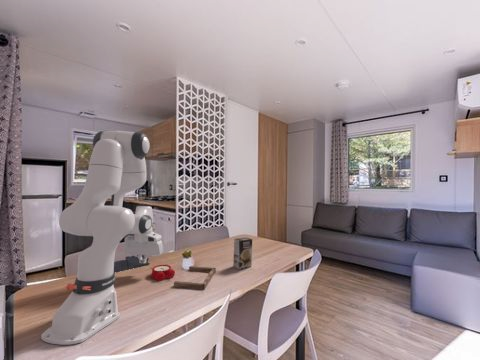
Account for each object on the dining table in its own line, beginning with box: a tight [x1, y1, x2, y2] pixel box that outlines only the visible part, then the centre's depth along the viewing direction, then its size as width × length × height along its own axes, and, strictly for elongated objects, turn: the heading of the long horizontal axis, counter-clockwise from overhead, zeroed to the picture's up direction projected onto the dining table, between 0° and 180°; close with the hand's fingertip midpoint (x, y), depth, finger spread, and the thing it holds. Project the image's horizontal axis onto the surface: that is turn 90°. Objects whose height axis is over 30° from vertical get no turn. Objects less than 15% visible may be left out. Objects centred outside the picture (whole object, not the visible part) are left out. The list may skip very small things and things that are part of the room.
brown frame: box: [173, 265, 217, 290], centre depth 118 cm, size 22×14×2 cm, turn 173°
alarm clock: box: [150, 264, 176, 282], centre depth 120 cm, size 10×6×15 cm
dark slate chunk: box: [114, 255, 151, 273], centre depth 134 cm, size 15×22×5 cm
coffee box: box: [232, 236, 253, 270], centre depth 137 cm, size 9×6×16 cm
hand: (142, 262), depth 122 cm, fingers closed
